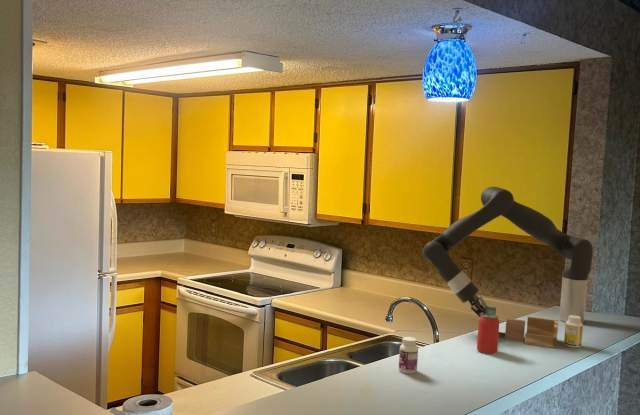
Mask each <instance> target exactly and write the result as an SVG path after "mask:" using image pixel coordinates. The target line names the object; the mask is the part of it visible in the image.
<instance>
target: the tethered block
mask: <svg viewBox="0 0 640 415" xmlns="http://www.w3.org/2000/svg"><path fill="white" fill-rule="evenodd" d="M485 308H486V311H487V313H489V314H495V315H497V314H496V312H497V306H494V305H488V306H485ZM525 327H526V320H522V319H516V318H507V319H506V322H505V332H500V331H499V335H498V337H500V338H501V337H502V338H504V339H505V340H508V341H509V340H510V341H517V342H524V340H525Z"/></svg>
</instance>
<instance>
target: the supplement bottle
mask: <svg viewBox="0 0 640 415" xmlns="http://www.w3.org/2000/svg"><path fill="white" fill-rule="evenodd" d="M583 328H584V323H581V317H579V316H575V315H569V317H568V321H566V322H565V325H564V338H563V339H564V340H563V344H564V346H566V347H569V348H572V349H577V348H578V349H579V348H581V347H582V342H583Z"/></svg>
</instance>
